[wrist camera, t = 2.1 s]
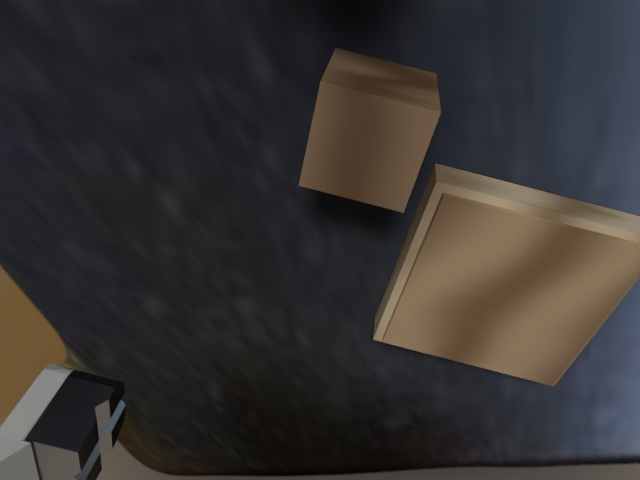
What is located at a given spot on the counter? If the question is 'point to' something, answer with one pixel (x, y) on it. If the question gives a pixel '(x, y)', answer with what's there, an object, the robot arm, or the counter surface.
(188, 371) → the counter surface
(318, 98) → the cube
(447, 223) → the square wooden base
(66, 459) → the robot arm
